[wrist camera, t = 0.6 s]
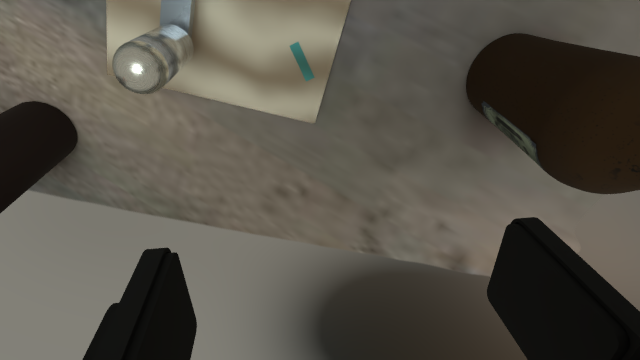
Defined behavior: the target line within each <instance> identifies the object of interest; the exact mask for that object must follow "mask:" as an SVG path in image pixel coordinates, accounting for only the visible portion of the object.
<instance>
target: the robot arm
mask: <svg viewBox="0 0 640 360" xmlns="http://www.w3.org/2000/svg"><path fill="white" fill-rule="evenodd" d="M487 296H488V299H489V301H490V303H491V304H492V306H493V307H494V309H495V311H496V312H497V314H498V315H499V317H500V318H501V319H502V321H503V323H504V324H505V326H506V327H507V329H508V330H509V332H510V333H511V335H512V336H513V338H514V339H515V341H516V343H517V344H518V345H519V347H520V349H521V350H522V352H523V353H524V354H525V356H526V357H527V359H528V360H640V311H638V310H637V309H636V308H635V307H634V306H633V305H632V304H631V303H630V302H629V301H628V300H626V299H625V298H624V297H623V296H622V295H621V294H620V293H619V292H618V291H617V290H616V289H614V288H613V287H612V286H611V285H610V284H609V283H608V282H607V281H606V280H605V279H604V278H603V277H601V276H600V275H599V274H598V273H597V272H596V271H595V270H594V269H593V268H592V267H591V266H590V265H588V264H587V263H586V262H585V261H584V260H583V259H582V258H581V257H579V255H578V254H576V253H575V252H574V251H573V250H572V249H571V248H570V247H569V246H568V245H567V244H566V243H565V242H563V241H562V240H561V239H560V238H559V237H558V236H557V235H556V234H555V233H554V232H553V231H551V230H550V229H549V228H548V227H547V226H546V225H545V224H544V223H543V222H542V221H541V220H539V219H538V218H535V217H531V218H519V219H514V220H513V221H512V222H511V224H509V225H508V226H507V227H506V230H505V233H504V236H503V239H502V243H501V246H500V249H499V252H498V256H497V259H496V262H495V265H494V269H493V272H492V275H491V278H490V282H489V285H488V289H487ZM196 328H197V322H196V317H195V314H194V310H193V307H192V303H191V299H190V296H189V292H188V289H187V285H186V281H185V278H184V274H183V271H182V267H181V264H180V260H179V257H178V254H177V253H171V251H170V249H169V248H159V249H147V250H145V251H144V252H143V254H142V256H141V258H140V260H139V262H138V264H137V266H136V269H135V271H134V273H133V275H132V277H131V279H130V281H129V283H128V285H127V288H126V290H125V292H124V294H123V296H122V298H121V301H120V302H119V303H114V304H112V305H111V306H110V307H109V309H108V310H107V312H106V314H105V316H104V318H103V320H102V322H101V324H100V326H99V328H98V330H97V332H96V334H95V336H94V338H93V340H92V342H91V344H90V346H89V348H88V350H87V352H86V354H85V356H84V358H83V360H190V358H191V354H192V349H193V344H194V339H195V335H196Z"/></svg>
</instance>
